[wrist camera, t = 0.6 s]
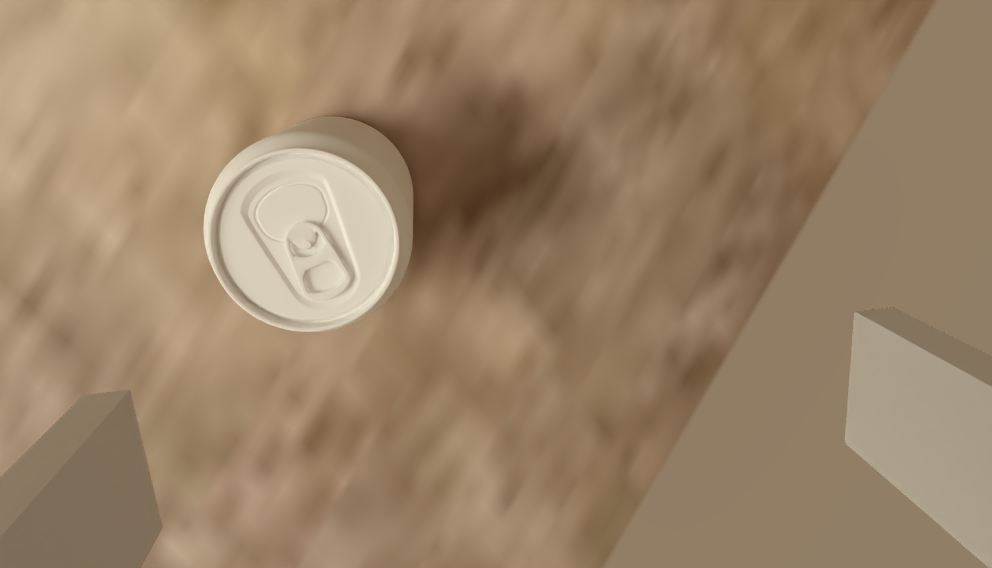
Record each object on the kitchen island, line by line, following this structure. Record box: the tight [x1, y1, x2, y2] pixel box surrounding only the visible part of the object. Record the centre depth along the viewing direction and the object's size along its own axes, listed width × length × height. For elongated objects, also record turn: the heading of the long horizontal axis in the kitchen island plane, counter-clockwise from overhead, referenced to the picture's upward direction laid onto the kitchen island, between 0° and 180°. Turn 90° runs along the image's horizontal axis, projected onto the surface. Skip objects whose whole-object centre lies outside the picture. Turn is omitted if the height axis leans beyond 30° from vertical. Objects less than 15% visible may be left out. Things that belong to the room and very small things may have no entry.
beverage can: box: [204, 116, 413, 332], centre depth 33 cm, size 8×8×12 cm
